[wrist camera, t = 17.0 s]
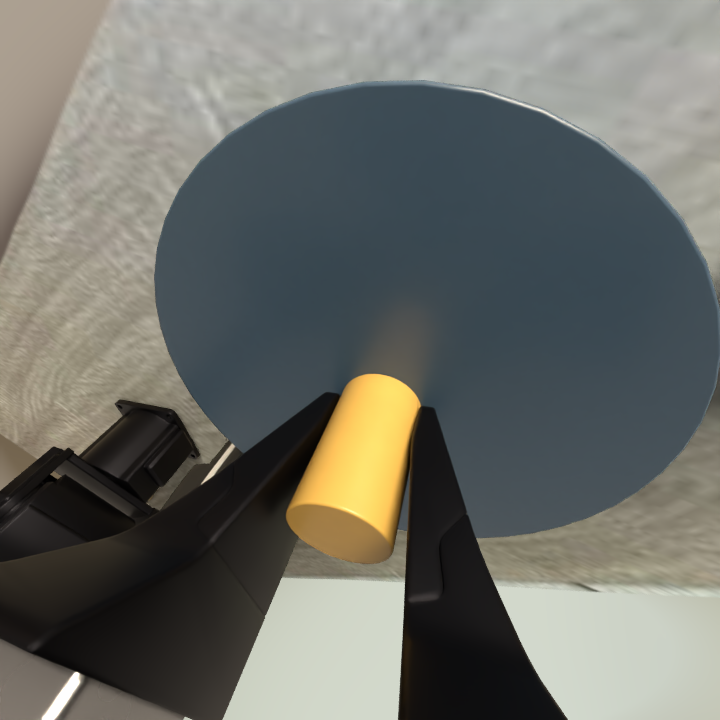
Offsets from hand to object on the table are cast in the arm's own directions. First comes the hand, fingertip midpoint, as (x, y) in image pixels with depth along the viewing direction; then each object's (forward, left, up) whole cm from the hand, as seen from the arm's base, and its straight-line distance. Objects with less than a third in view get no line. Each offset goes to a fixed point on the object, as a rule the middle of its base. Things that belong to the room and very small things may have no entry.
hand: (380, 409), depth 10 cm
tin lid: (0, 0, -1) cm, 1 cm away
